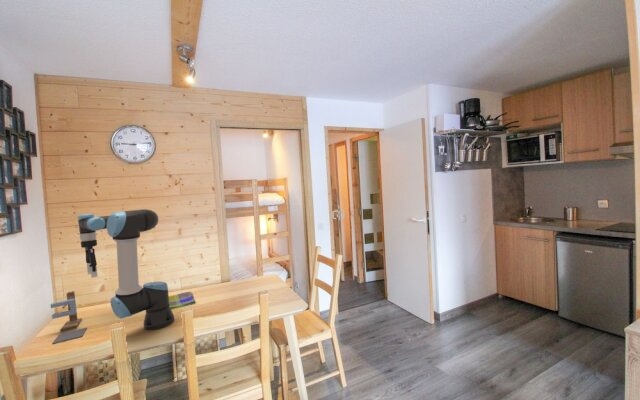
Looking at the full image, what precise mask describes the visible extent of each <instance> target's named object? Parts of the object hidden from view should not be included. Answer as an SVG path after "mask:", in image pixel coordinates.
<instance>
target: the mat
mask: <svg viewBox="0 0 640 400" xmlns="http://www.w3.org/2000/svg"><path fill="white" fill-rule="evenodd" d="M87 329H88V327H83V328H79V329H73V330H68V331H64V332H60V333H59V334H58V335H57V336H56V338H55V339H54V340H53V342H52V345H56V344H59V343H63V342H67V341H72V340H76V339H79V338H80V339H81V338H83V336H84V334H85V333H86V331H87Z"/></svg>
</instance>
